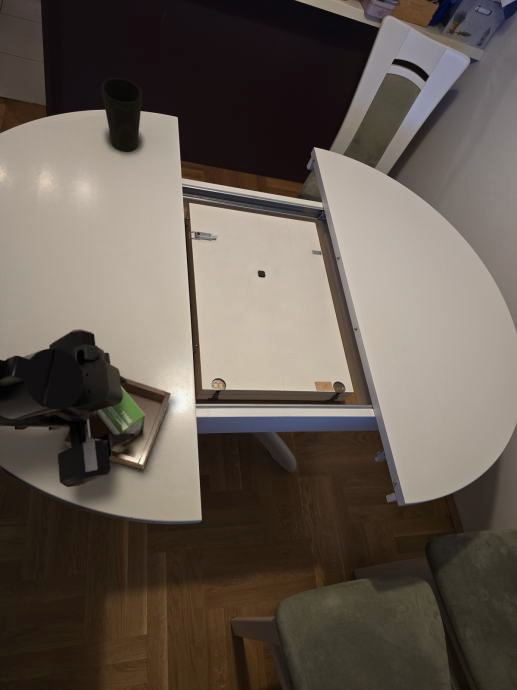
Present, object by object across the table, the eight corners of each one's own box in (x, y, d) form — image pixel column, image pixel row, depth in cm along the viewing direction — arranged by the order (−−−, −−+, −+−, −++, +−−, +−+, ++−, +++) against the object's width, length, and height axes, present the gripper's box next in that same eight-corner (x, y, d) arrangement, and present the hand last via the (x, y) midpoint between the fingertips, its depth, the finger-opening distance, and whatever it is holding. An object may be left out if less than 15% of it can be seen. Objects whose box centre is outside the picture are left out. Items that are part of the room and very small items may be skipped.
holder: (69, 447, 58) (63, 441, 54) (102, 380, 64) (99, 369, 60) (143, 470, 60) (143, 465, 55) (168, 402, 65) (170, 393, 61)
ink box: (145, 430, 61) (146, 407, 50) (123, 447, 59) (119, 426, 48) (118, 397, 62) (113, 366, 51) (95, 413, 60) (85, 384, 49)
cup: (104, 130, 87) (98, 75, 77) (139, 131, 90) (138, 78, 79) (109, 155, 84) (104, 101, 74) (145, 155, 87) (145, 104, 77)
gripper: (78, 466, 36) (185, 458, 49) (62, 294, 43) (160, 328, 56) (5, 495, 40) (122, 480, 53) (1, 334, 47) (105, 357, 60)
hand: (128, 408), depth 56 cm, fingers closed on ink box, 8 cm apart
